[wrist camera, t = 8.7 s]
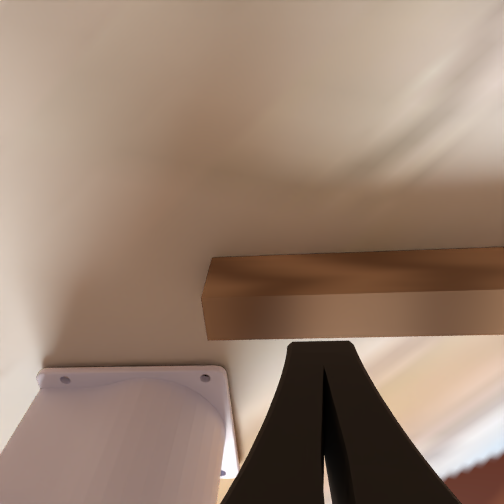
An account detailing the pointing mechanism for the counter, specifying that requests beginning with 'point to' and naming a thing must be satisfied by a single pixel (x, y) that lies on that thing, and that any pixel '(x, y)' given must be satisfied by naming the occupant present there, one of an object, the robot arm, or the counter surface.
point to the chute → (356, 295)
